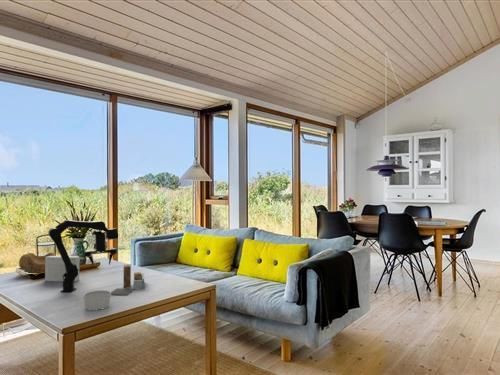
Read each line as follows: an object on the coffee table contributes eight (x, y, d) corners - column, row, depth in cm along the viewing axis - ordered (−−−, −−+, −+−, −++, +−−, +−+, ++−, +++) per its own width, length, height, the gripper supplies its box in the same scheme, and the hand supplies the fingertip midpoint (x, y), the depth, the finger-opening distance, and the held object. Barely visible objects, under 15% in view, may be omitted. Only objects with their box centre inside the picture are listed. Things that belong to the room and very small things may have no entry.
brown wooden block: (123, 287, 222) (123, 266, 222) (124, 285, 227) (124, 264, 227) (130, 287, 223) (130, 266, 223) (130, 284, 228) (130, 264, 228)
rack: (133, 289, 219) (133, 279, 219) (134, 282, 233) (134, 273, 233) (144, 288, 221) (144, 278, 221) (144, 282, 235) (144, 272, 235)
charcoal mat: (127, 295, 207) (127, 294, 207) (108, 295, 208) (108, 294, 208) (134, 289, 218) (134, 288, 218) (117, 289, 219) (117, 288, 219)
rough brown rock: (21, 280, 239) (22, 258, 238) (17, 273, 251) (18, 252, 250) (60, 276, 254) (61, 255, 253) (54, 269, 267) (55, 250, 266)
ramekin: (114, 302, 195) (114, 290, 195) (105, 311, 182) (105, 298, 182) (89, 303, 194) (89, 290, 194) (79, 311, 181) (78, 298, 181)
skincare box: (80, 279, 239) (79, 256, 239) (75, 282, 234) (75, 257, 234) (49, 278, 241) (49, 255, 241) (44, 281, 236) (44, 257, 236)
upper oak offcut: (134, 280, 224) (134, 274, 224) (134, 278, 228) (134, 272, 228) (141, 279, 226) (141, 273, 226) (140, 278, 229) (140, 271, 229)
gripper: (116, 237, 236) (117, 261, 237) (85, 240, 230) (86, 264, 231) (116, 240, 225) (117, 265, 226) (83, 243, 219) (84, 268, 220)
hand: (101, 265), depth 226 cm, fingers open, 9 cm apart
